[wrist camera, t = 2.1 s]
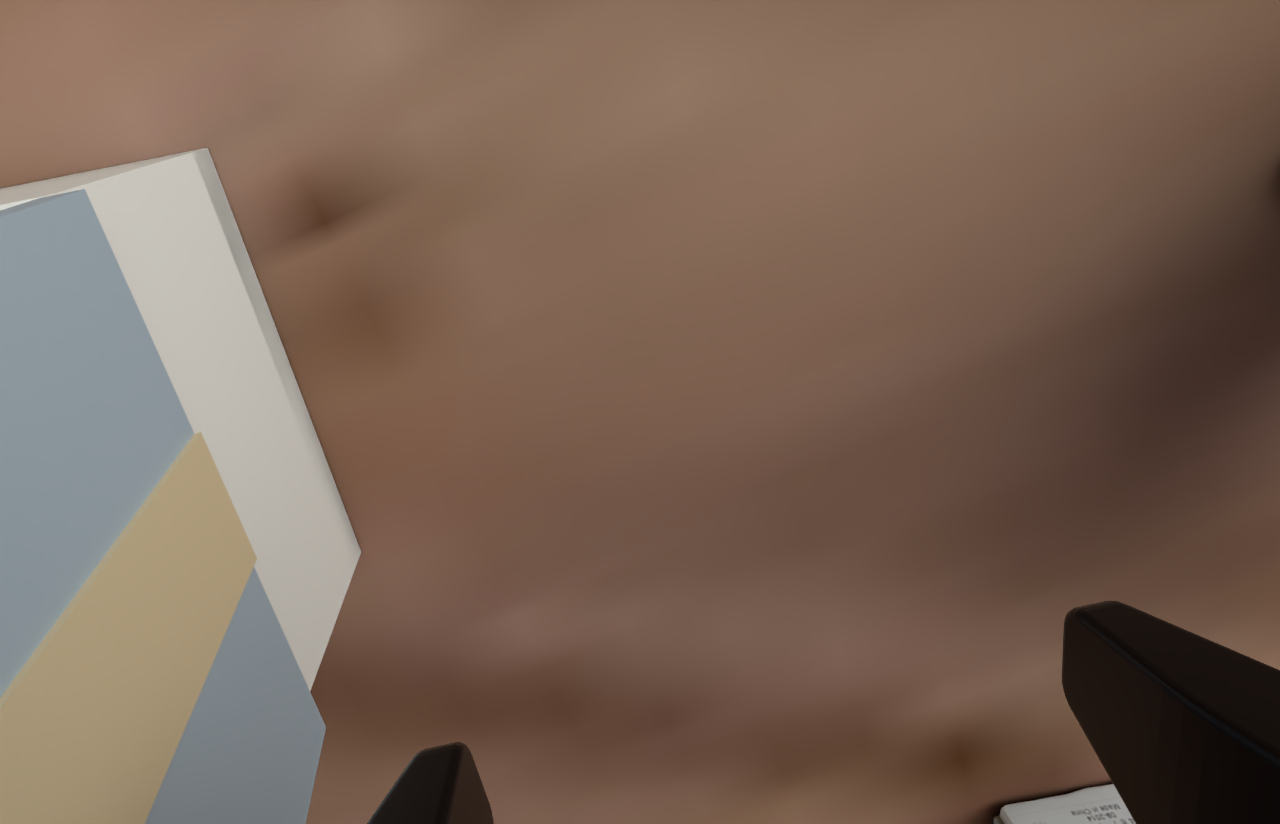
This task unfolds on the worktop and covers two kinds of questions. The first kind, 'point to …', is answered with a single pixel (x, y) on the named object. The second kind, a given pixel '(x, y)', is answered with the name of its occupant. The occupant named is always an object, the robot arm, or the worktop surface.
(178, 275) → the keepsake box
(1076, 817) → the hard drive box
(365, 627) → the worktop surface
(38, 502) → the lid
